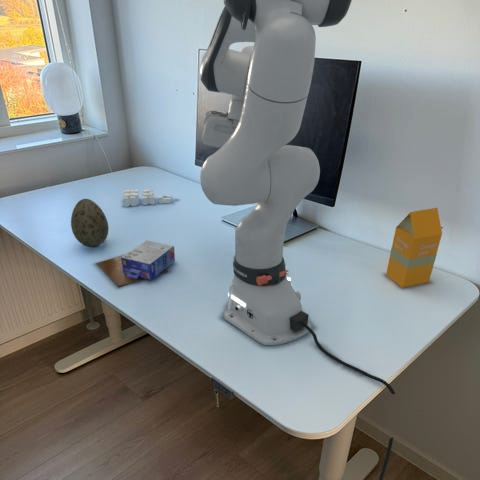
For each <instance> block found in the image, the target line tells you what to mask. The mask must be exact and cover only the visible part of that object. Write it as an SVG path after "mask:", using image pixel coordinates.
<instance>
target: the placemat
mask: <svg viewBox="0 0 480 480" xmlns="http://www.w3.org/2000/svg"><path fill="white" fill-rule="evenodd" d="M124 255H125V254H124ZM124 255H120V256H117V257H113V258H110V259H106V260H103V261H98V262H96V265H97V266H98V268H100V270H102V272H104V274H105V275H106V276H107V277H108V279H109V280H111V281H112V282H113V283H114V284H115V286H116V287H117V288H122V287H124V286H127V285H130V284H133V283H137V282H140V281H143V280H146V279H145V278H141V277H138V278H137V279H135V278H131V277H127V274H124V272H123V267H122V261H121V257H122V256H124ZM168 272H169V270H168V269H167V268H166V269H165V270H164V271H162V272H161V273H160V274H159V275H163V274H165V273H168Z"/></svg>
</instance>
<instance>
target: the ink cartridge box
mask: <svg viewBox="0 0 480 480" xmlns="http://www.w3.org/2000/svg"><path fill="white" fill-rule="evenodd" d="M175 255H176V254H175V246H174V245H172V244H167V243H162V242H156V241H152V240H147V239H146V240H145V241H143V242H141V243H140V244H139V245H137V246H135V248H133V249H131V250H130V251H129V252H127V253H125V254H124V256H123V255H121V256H122V257H121V261H122V267H123V272H124V274H127V277H131V278H135V279H137V278H138V277H141V278H145V279H144V280H149V281H153V280H154V279H155V278H156V277H158V276H159V275H161V274H160V273H161V272H162V271H164V270H165V269H166V270H167V269H168V267H170V266H171V265H172V264H173V263H175V262H176V257H175Z"/></svg>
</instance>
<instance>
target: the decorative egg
mask: <svg viewBox="0 0 480 480" xmlns="http://www.w3.org/2000/svg"><path fill="white" fill-rule="evenodd" d="M70 218H71V219H70V228H71V231H72V235H73V236H74V238H75V239H76V240H77V241H78V243H80V244H81V245H83V246H86V247H87V248H97V247H99V246H101V245H102V244H104V242H105V241H106V240H107V238H108V235H109V223H108V219H107V216H106V215H105V213H104V211H103V209H102V208H101V207H100V206H99V204H97V203H96V202H95V201H94V200H92V199H90V198H82V199H80V200H78V202H77V203H76V204H75V205H74V207H73V210H72V213H71V217H70Z"/></svg>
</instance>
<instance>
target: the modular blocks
mask: <svg viewBox="0 0 480 480" xmlns="http://www.w3.org/2000/svg"><path fill="white" fill-rule="evenodd" d="M122 193H123V195H122V198H123V199H122V200H123V205H124V207H125V208H127V207H130V206H131V207H136V206H140V195H139V189H137V188H136V189H132V190H131V189H125V190H123V192H122ZM141 196H142V205H143V206H149V205H151V206H152V205H156V201H155V192H154V189H144V190H142V193H141ZM170 196H171V195H169V194H168V195H157V198H158V200H157V201H158V204H159V205H161V204H172V202H173V200H172V197H170Z"/></svg>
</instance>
